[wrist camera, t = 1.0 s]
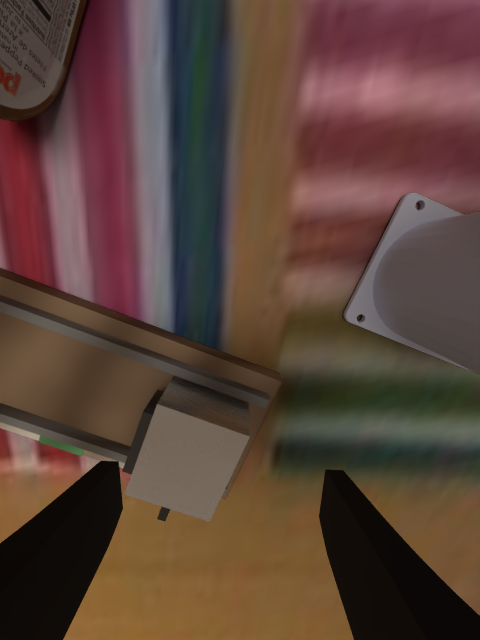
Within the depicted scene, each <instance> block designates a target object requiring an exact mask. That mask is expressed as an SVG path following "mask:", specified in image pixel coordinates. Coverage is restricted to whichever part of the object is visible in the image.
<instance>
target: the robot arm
mask: <svg viewBox="0 0 480 640" xmlns="http://www.w3.org/2000/svg"><path fill="white" fill-rule="evenodd" d="M417 202H418V203H420V209H419V210H417V209H416V207H415V205H416V203H417ZM360 314H362V319H361V320H360V321H357V316H358V315H360ZM343 315H344V318H345V320H346V321H348V322H350V323H352V324H354V325H357V326H359V327H362V328H364V329H367V330H369V331H372V332H374V333H377V334H379V335H382V336H384V337H387V338H389V339H392V340H394V341H397V342H399V343H402V344H404V345H407V346H409V347H412V348H414V349H417V350H419V351H421V352H424V353H426V354H429V355H431V356H434V357H436V358H439V359H441V360H444V361H446V362H449V363H451V364H454V365H456V366H459V367H461V368H464V369H466V370H472V371H474V372H476V373H478V374H480V211H479V212H474V213H469V214H461V213H459V212H457V211H455V210H453V209H450V208H448V207H446V206H444V205H442V204H440V203H437V202H435V201H433V200H431V199H429V198H426V197H424V196H422V195H420V194H418V193H414V192H412V193H408V194H406V195H405V196H403V197H402V199H401V200H400V202H399V204H398V206H397V208H396V210H395V212H394V214H393V216H392V218H391V220H390V222H389V224H388V226H387V228H386V230H385V232H384V234H383V236H382V238H381V240H380V242H379V244H378V246H377V248H376V250H375V252H374V254H373V256H372V258H371V260H370V262H369V263H368V265H367V267H366V269H365V271H364V273H363V275H362V277H361V279H360V281H359V283H358V285H357V287H356V289H355V291H354V293H353V295H352V297H351V299H350V301H349V303H348V305H347V307H346V309H345V311H344V314H343ZM122 510H123V504H122V493H121V482H120V470H119V461H100V462H99V463H98V464H97V465H95V466H94V467H93V468H92V469H91V470H89V471H88V472H87V473H86V474H85V475H84V476H82V477H81V478H80V479H79V480H78V481H76V482H75V483H74V484H73V485H72V486H71V487H69V488H68V489H67V490H66V491H65V492H63V493H62V494H61V495H60V496H59V497H58V498H56V499H55V500H54V501H53V502H52V503H50V504H49V505H48V506H47V507H45V508H44V509H43V510H42V511H41V512H39V513H38V514H37V515H36V516H35V517H33V518H32V519H31V520H30V521H28V522H27V523H26V524H25V525H23V526H22V527H21V528H19V529H18V530H17V531H16V532H14V533H13V534H12V535H10V536H9V537H8V538H7V539H5V540H4V541H3V542H1V543H0V640H63V639H64V637H65V635H66V632H67V630H68V628H69V626H70V624H71V622H72V620H73V618H74V616H75V614H76V612H77V610H78V608H79V606H80V604H81V602H82V600H83V598H84V596H85V594H86V592H87V590H88V588H89V586H90V584H91V582H92V580H93V577H94V575H95V573H96V571H97V569H98V567H99V565H100V563H101V561H102V559H103V557H104V555H105V553H106V551H107V548H108V546H109V544H110V541H111V539H112V536H113V534H114V531H115V529H116V526H117V523H118V520H119V518H120V515H121V512H122ZM319 519H320V523H321V528H322V533H323V538H324V542H325V547H326V551H327V555H328V558H329V562H330V565H331V568H332V571H333V574H334V578H335V581H336V584H337V587H338V590H339V594H340V597H341V600H342V603H343V606H344V609H345V612H346V616H347V619H348V622H349V625H350V628H351V631H352V635H353V638H354V640H480V616H479V615H478V614H477V613H476V612H475V611H474V610H473V609H472V608H471V607H470V606H469V605H468V604H466V603H465V602H464V601H463V600H462V599H461V598H460V597H459V596H458V595H457V594H456V593H455V592H454V591H453V590H452V589H451V588H450V587H449V586H448V585H447V584H446V583H445V582H444V581H443V580H442V579H441V578H440V577H439V576H438V575H437V574H436V573H435V572H434V571H433V570H432V569H431V568H430V567H429V566H428V565H427V564H426V563H425V562H424V561H423V560H422V559H421V558H420V557H419V556H418V555H417V554H416V553H415V551H414V550H413V549H412V548H411V547H410V546H409V545H408V544H407V543H406V542H405V541H404V540H403V538H402V537H401V536H400V535H399V534H398V533H397V532H396V531H395V530H394V528H393V527H392V526H391V525H390V524H389V523H388V522H387V521H386V520H385V518H384V517H383V516H382V515H381V514H380V513H379V512H378V510H377V509H376V508H375V507H374V506H373V505H372V504H371V502H370V501H369V500H368V499H367V498H366V497H365V495H364V494H363V493H362V492H361V491H360V489H359V488H358V487H357V486H356V485H355V484H354V482H353V481H352V480H351V479H350V478H349V477H348V475H347V474H346V473H345V472H344V471H343V470H325V477H324V484H323V491H322V499H321V506H320V513H319Z"/></svg>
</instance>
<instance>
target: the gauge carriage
mask: <svg viewBox="0 0 480 640" xmlns="http://www.w3.org/2000/svg"><path fill="white" fill-rule="evenodd" d="M249 438H250V427H249V403H248V402H246V401H243V400H240V399H237V398H235V397H232V396H229V395H226V394H224V393H221V392H218V391H215V390H213V389H210V388H207V387H204V386H202V385H199V384H196V383H193V382H191V381H188V380H185V379H182V378H180V377H177V376H173V378H172V380H171V381H170V383H169V385H168V386H167V388H166V390H165V391H162V390H159V389H157V391H156V392H155V394H154V396H153V397H152V399H151V400H150V402H149V403H148V405H147V406H146V408H145V409H144V411H143V413H142V416H141V419H140V421H139V424H138V427H137V430H136V433H135V436H134V439H133V442H132V445H131V447H130V450H129V453H128V456H127V459H126V462H125V465H124V468H123V470H122V471H123V472H126V473H129V474H132V475H131V478H130V481H129V484H128V486H127V489H126V492H125V495H128V496H131V497H134V498H137V499H140V500H143V501H146V502H149V503H153V504H156V505H159V506H162V507H161V509H160V512H159V515H158V518H157V519H159V520H162V521H165V520H166V518H167V516H168V513H169V511H170V509H171V510H174V511H178V512H181V513H184V514H187V515H190V516H193V517H196V518H199V519H202V520H206V521H209V522H210V520H211V518H212V516H213V514H214V512H215V510H216V508H217V505H218V503H219V501H220V499H221V497H222V495H223V493H224V491H225V488H226V486H227V484H228V482H229V480H230V478H231V476H232V474H233V471H234V469H235V467H236V465H237V463H238V461H239V459H240V457H241V455H242V452H243V450H244V448H245V446H246V444H247V442H248V440H249Z"/></svg>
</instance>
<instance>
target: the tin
mask: <svg viewBox="0 0 480 640" xmlns="http://www.w3.org/2000/svg"><path fill="white" fill-rule="evenodd" d="M86 2H87V0H0V119H3V120H10V121H20V120H26V119H30V118H33V117H35V116H37V115H39V114H41V113H42V112H44V111H45V110H46V109H47V108H48V107H49V106H50V105H51V104H52V103H53V101H54V100H55V99H56V97H57V96H58V94H59V92H60V91H61V88H62V86H63V84H64V81H65V78H66V75H67V71H68V68H69V64H70V60H71V57H72V53H73V49H74V46H75V42H76V38H77V35H78V31H79V27H80V24H81V20H82V16H83V13H84V9H85V5H86Z"/></svg>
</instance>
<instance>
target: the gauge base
mask: <svg viewBox="0 0 480 640" xmlns="http://www.w3.org/2000/svg"><path fill="white" fill-rule="evenodd" d="M173 376H177V377H180V378H182V379H185V380H188V381H191V382H193V383H196V384H199V385H202V386H204V387H207V388H210V389H213V390H215V391H218V392H221V393H224V394H226V395H229V396H232V397H235V398H237V399H240V400H243V401H246V402H248V403H249V427H250V438H249V440H248V442H247V444H246V446H245V448H244V450H243V452H242V455H241V457H240V459H239V461H238V463H237V465H236V467H235V469H234V471H233V474H232V476H231V478H230V480H229V482H228V484H227V486H226V488H225V491H224V493H223V495H222V497H221V498H223V499H226V498H227V496H228V494H229V492H230V490H231V488H232V486H233V484H234V481H235V479H236V477H237V475H238V473H239V471H240V469H241V467H242V465H243V463H244V461H245V458H246V456H247V454H248V452H249V450H250V448H251V446H252V444H253V442H254V440H255V437H256V435H257V433H258V431H259V429H260V427H261V425H262V423H263V421H264V419H265V417H266V414H267V412H268V410H269V408H270V406H271V404H272V402H273V400H274V398H275V396H276V394H277V391H278V389H279V387H280V385H281V383H282V380H281V377H280V374H279V373H277V372H274V371H271V370H269V369H266V368H264V367H261V366H258V365H256V364H253V363H250V362H248V361H245V360H242V359H240V358H237V357H234V356H232V355H229V354H226V353H224V352H221V351H218V350H216V349H213V348H210V347H208V346H205V345H202V344H200V343H197V342H195V341H192V340H189V339H187V338H184V337H181V336H179V335H176V334H173V333H171V332H168V331H165V330H163V329H160V328H157V327H155V326H152V325H149V324H147V323H144V322H141V321H139V320H136V319H133V318H131V317H128V316H126V315H123V314H120V313H118V312H115V311H112V310H110V309H107V308H104V307H102V306H99V305H96V304H94V303H91V302H88V301H86V300H83V299H80V298H78V297H75V296H72V295H70V294H67V293H64V292H62V291H59V290H57V289H54V288H51V287H49V286H46V285H43V284H41V283H38V282H35V281H33V280H30V279H27V278H25V277H22V276H19V275H17V274H14V273H11V272H9V271H6V270H3V269H1V268H0V428H2V429H5V430H8V431H11V432H14V433H17V434H20V435H23V436H26V437H29V438H32V439H35V440H38V441H39V442H40V443H43V444H46V445H49V446H52V447H55V448H58V449H61V450H64V451H67V452H70V453H73V454H77V455H80V456H82V455H84V456H87V457H90V458H93V459H96V460H99V461H119V467H121V468H124V465H125V462H126V459H127V456H128V453H129V450H130V447H131V445H132V442H133V439H134V436H135V433H136V430H137V427H138V424H139V421H140V419H141V416H142V413H143V411H144V409H145V408H146V406H147V405H148V403H149V402H150V400H151V399H152V397H153V396H154V394H155V392H156V391H157V389H159V390H162V391H165V390H166V388H167V386H168V385H169V383H170V381H171V380H172V378H173Z"/></svg>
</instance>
